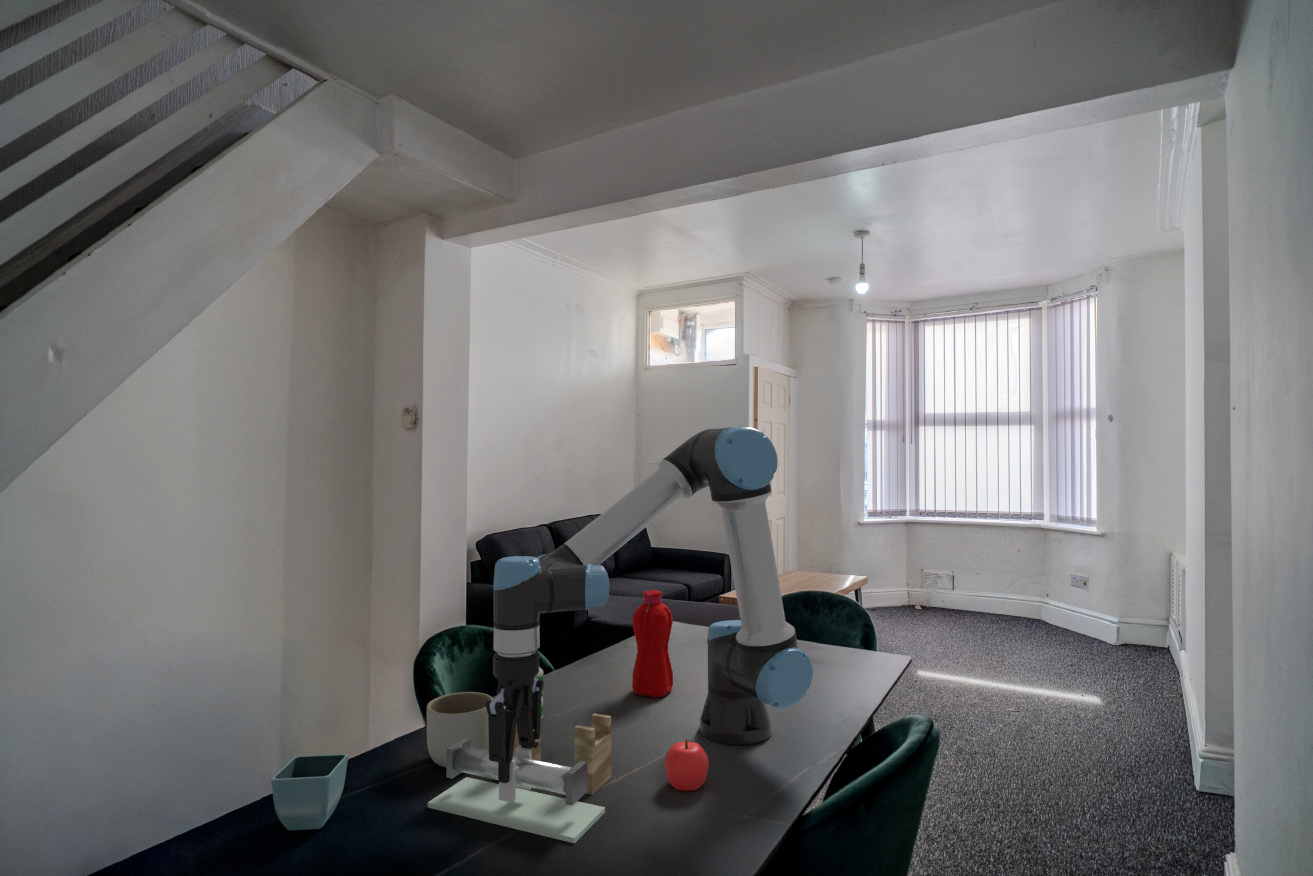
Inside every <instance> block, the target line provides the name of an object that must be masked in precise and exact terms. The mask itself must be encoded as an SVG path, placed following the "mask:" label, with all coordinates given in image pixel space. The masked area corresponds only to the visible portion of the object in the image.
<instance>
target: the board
mask: <svg viewBox="0 0 1313 876" xmlns="http://www.w3.org/2000/svg"><path fill="white" fill-rule="evenodd" d="M427 808H429V809H432V810H437V811H441V812H446V813H449V814H454V815H458V816H461V817H466V818H470V819H473V820H478V821H480V822H481V821H482V822H486V823H490V824H494V825H498V826H502V827H506V828H511V829H515V830H518V831H523V832H526V833H530V834H534V835H538V836H543V837H547V838H551V839H555V840H558V841H564V842H567V843H572V844H576V843H577V842H578V840H579V839H581V838H582V837H583V836H584V834H585V833H587V832H588V831H589V829H591V827H592V826H594V824H596V822H598V820H599V819H600V818H601V817H602V816H603V815H604V814H605V813H606V807H605V806H600V805H596V804H593V803H592V804H591V803H587V802H581V801H579V800H578V801H577V802H576V803H575V804H573V805H568V804H566V797H560V796H555V795H549V794H545V793H540V792H536V791H532V790H526V789H521V788H517V787H516V796H515V802H513V803H511V802H506V801H502V800H499V783H496V782H491V781H486V780H480V779H477V778H473V777H468V776H466V777H465V778H463V779H461V780H460V781H458V782H456V783H455V784H453V785H452V786H451V787H449V788H447V789H446V790H445V791H443V792H442V793H440V794H439V795H437V796H436V797H433V799H431V800H430V801H428V802H427ZM579 841H580V840H579Z"/></svg>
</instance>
